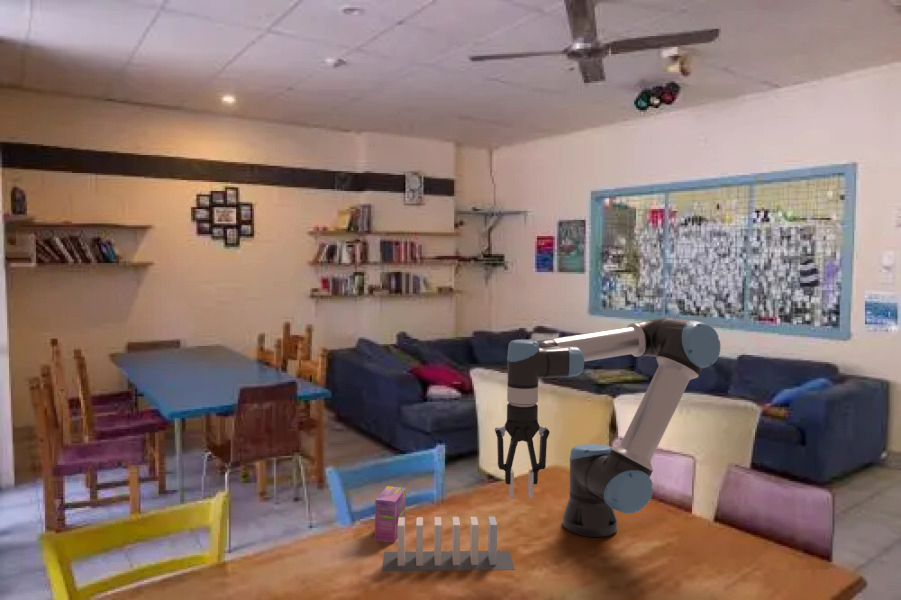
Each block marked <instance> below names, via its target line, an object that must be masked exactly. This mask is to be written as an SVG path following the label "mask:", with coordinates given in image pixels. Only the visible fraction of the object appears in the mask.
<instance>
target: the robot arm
mask: <svg viewBox="0 0 901 600" xmlns="http://www.w3.org/2000/svg"><path fill="white" fill-rule="evenodd" d="M507 348H508V349H507V358H506V360H507V386H506V387H507V390H506V391H507V395H506V396H507V397H506V401H507V402H508V403H507V404H506V422H505V423H504V426H501V427H495V428H494V433H495V435H496V440H497V443H496V444H497V466H498V469H499V470H500V471H501V470H503V471H504V481H505V484H506V485H508V495H509V497H510V499H511V500H513V499H514V497H515V496H514V492H515V484H514V483H515V472H514V470H513V468H512V467H513V463H514V459H515V455H516V449H517V446H518V443H519V442H526V445H527V451H528V455H529V459H530V464H531V468H528V497H529V498H530V499H531V500H532V499H534V485H537V484H538V480H539V471H542V470H545V469H546V467H547V466H546V463H547V445H548V444H547V443H548V437H549V435H550V430H549V428H547V427H543V426H541V425H540V423H539V421H538V420H539V419H538V417H539V416H538V415H539V413H538V412H539V406H538V404H537V403H538V402H539V380H540V379H550V378H552V379H553V378H572V377H578V376H579V375H581V374H582V373H583V372H584V368H585V362H590V361H595V360H596V361H597V360H603V359H609V358H615V357H621V356H627V355H632V356H633V357H635V358H636V357H637V358H639V357H655V359H656V361H657V362H656V363H657V365H658V367H657V368H656V371H655V373H654V375H653V377H652V379H651V381H650V383H649V385H648V387H647V389H646V391H645V393H644V396H643V397H642V400H641V402H640V404H639V405H638V407H637V410H636V412H635V414H634V416H633V417H632V419H631V422H630V424H629V425H628V427H627V430H626V431H625V434H624V436H623V438H622V439H621V440H622V441H621V442H620V444H619V445H618V446H616V447H611V446H610V445H606V444H601V443H600V444H597V443H593V444H592V443H588V444H586V443H585V444H578V445H576V446H573V447H572V448H571V450H570V455H569V498H568V501H567V503H566V506H565V509H564V511H563V515H562V525H563V528H564V529H566V530H567V531H568V532H570V533H572V534H575V535H579V536H583V537H589V538H604V537H609V536H612V535H614V534H615V533H617V531H618V518H617V515H616V512H615V511H617V512H620V513H622V514H627V515H628V514H634V513H636V512H639V511H641V510H642V509H644V508H645V507H646V506H647V505H648V504H649V502H650V501H651V499H652V496H653V492H654V488H653V481H652V479H651V476H652V474H653V472H654V469H653V466H652V464H651V463H652V459H653V458H654V455H655V453H656V451H657V449H658V447H659V446H660V445H659V444H660V442H661V441H662V439H663V437H664V434H665V433H666V430H667V428H668V426H669V424H670V423H671V420H672V418H673V416H674V414H675V412H676V410H677V408H678V405H679V404H680V402H681V399H682V397H683V395H684V393H685V390H686V388H687V386H688V384H689V383H690V381H691V380H694V379H697V378H699V375H700V374H701V371H702V369H705V368H708V367H710V366H713V365H714V364H715V363H716V362H717V361H718V358H719V356H720V353H721V341H720V339H719V334H718V332H717V330H715V328H714V327H713V326H712V325H710V324H708V323H706V322H702V321H699V320H696V319H694V320H693V319H692V320H691V319H690V320H689V319H681V318H676V317H675V318H674V317H661V318H655V319H649V320H644V321H638V322H632V323H629V324H628V325H627V327H623V328H622V327H621V328H615V329H608V330H603V331H595V332H588V333H582V334H575V335H567V336H561V337H554V338H547V339H541V340H537V339H515V340H514V339H513V340H511V341H510V342H509V343H508V347H507ZM506 432H507V433H508V435H509V436H510V443H509V447H508V451H507V456H506V460H505V461H504V459H505V458H504V455H505V454H504V438H503V437H505V436H506V434H505V433H506ZM537 433H538V435H539V436H540V437H539V451H538V453H539V456H538V462H537V457H536V456H537V455H536V452H535V447H534V440H533V438H534V437H535V435H536V434H537ZM504 462H505V463H504Z"/></svg>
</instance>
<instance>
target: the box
mask: <svg viewBox="0 0 901 600" xmlns="http://www.w3.org/2000/svg"><path fill="white" fill-rule="evenodd" d="M406 492H407V490H406V487H403V486H402V487H399V486H392V485H391V486H389V485H386V486H385V488H383V490H382V491H381V492H380V493H379V495H378V496H377V497H376V499H375V502H374V503H375V506H374V514H375V515H374V541H375V542H383V543H396V542H397V541H398V518H399V517H405V518H406V494H407V493H406Z"/></svg>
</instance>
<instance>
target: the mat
mask: <svg viewBox="0 0 901 600" xmlns="http://www.w3.org/2000/svg"><path fill="white" fill-rule="evenodd" d="M382 559H383V560H382V564H381V565H382V567H381V572H422V571H424V572H425V571H426V572H427V571H430V572H431V571H433V572H435V571H438V572H439V571H509V570H510V571H512V570H513V571H515V570H516V568H515V565H514V562H513V558H512V555H511V552H510V550H497V565H490V562H489V557H488V550H478V565H471V558H470V550H460V565H453V559H452V550H450V551H449V550H448V551H447V550H446V551H443V550H441V565H435V561H434V551H423V566H416V551H405V561H404V566H398V551H384V552H383V558H382Z"/></svg>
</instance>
